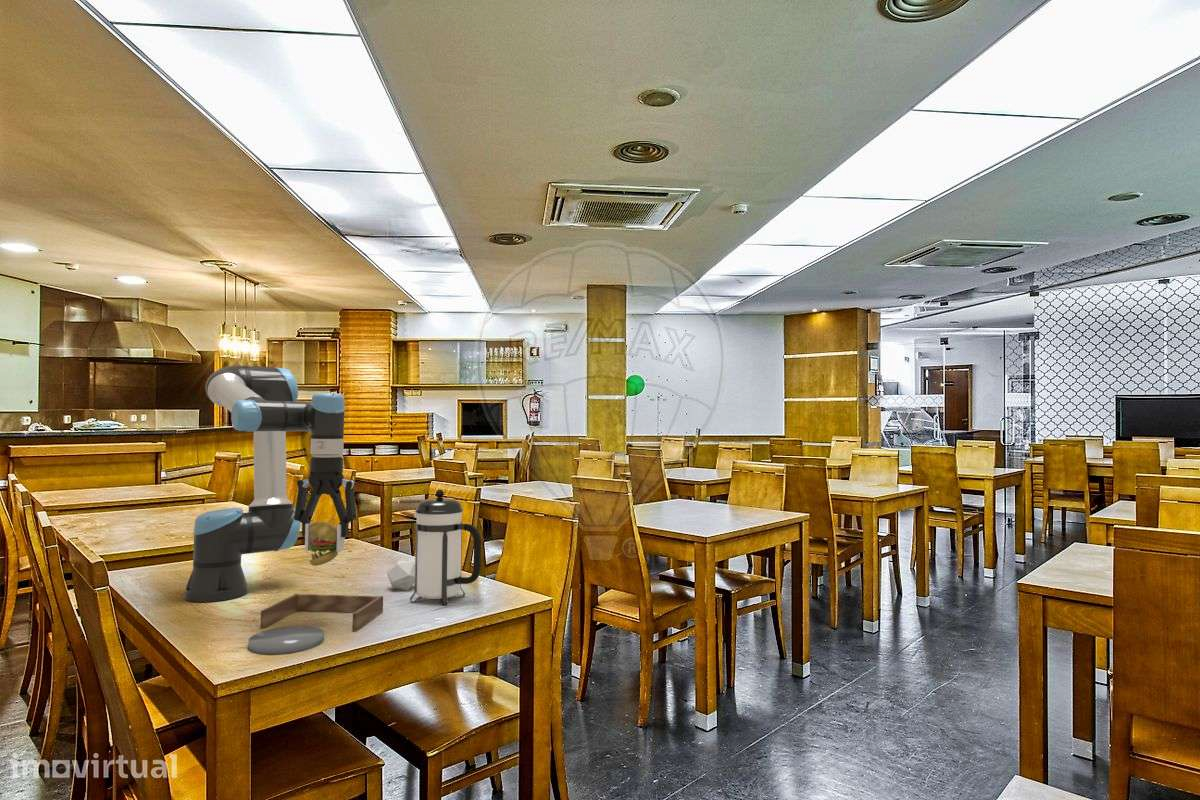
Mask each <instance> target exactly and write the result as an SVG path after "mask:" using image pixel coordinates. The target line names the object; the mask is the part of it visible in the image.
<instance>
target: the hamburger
mask: <svg viewBox="0 0 1200 800" xmlns="http://www.w3.org/2000/svg"><path fill="white" fill-rule="evenodd" d="M334 518H335V516H332V518H331V522H328V521H324V520H322V521H321V520H320V521H316V522H314V524H312V525H311V526H310V528H309V531H310V533H312V536H313V541H312V542H310V546H311V548H312V549H311V550H309V551H310V552H311V559H310V560H309V561H308V562H309V564H310V565H312V566H315V567H317V566H321V565H324V564H327V563H330V562H331V561H333V560H334V559H335V558H337V557H338V554H339V552H337V525H335V524H333V523H332V522H333V520H334ZM316 538H318V539H316ZM312 552H313V553H312ZM317 552H318V554H317Z"/></svg>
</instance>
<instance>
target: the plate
mask: <svg viewBox="0 0 1200 800" xmlns="http://www.w3.org/2000/svg"><path fill="white" fill-rule="evenodd" d="M324 641H325V631H324V629H323V628H321V627H318V626H312V625H289V626H288V625H287V626H280V627H275V628H270V629H267V630H263V631H260V632H256V633H254V634H252V635H251V636H250V637H249V638H248V645H247V647H248V650H249V651H250V652H252V653H254V654H260V655H286V654H292V653H298V652H302V651H306V650H309V649H313V648H315V647H318V646H319V645H321V644H322V643H323V642H324Z"/></svg>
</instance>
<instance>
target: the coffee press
mask: <svg viewBox="0 0 1200 800" xmlns="http://www.w3.org/2000/svg"><path fill="white" fill-rule="evenodd" d="M434 494H435V498H428V499H423V500H422V501H420V502H418V504H417V507H416V508H415V510H414V511H415V512H414V515H413V517H414V518H416V522H415V546H414V547H415V548H414V549H415V550H414V551H415V552H414V553H415V554H414V557H415V558H414V564H415V583H414V591H413V593H412V594H411V596H410V597H409V601H410V602H411V603H412V604H414V603H416V602H418V601H419V599H430V600H439V601H440V603H441V604H440V605H441V606H443V607H444V606H448V604H449V603H448V602H449V601H448V600H449V599H448V598H451V597H455V596H456V595H457V596H459V597H460V598H464V597H465V596H466V593H465V591H464V590H463V588H462V585H469V584H472V583H474V582H476V580H478V578H479V576H480V574H481V569H482V560H481V559H482V539H481V534H480V532H479V530H478V528H477V527H476V526H474V525H472V524H470V523H463V520H462V519H463V518H462V517H463V515H462V514H463V512H464V507H462V504H461V502H460V501H458V500H456V499H454V498H449V497H443V496H444V495H445V493H444V490H442V489H437V490H436V491H435V493H434ZM463 531H467V532H469V533H470V534H471V536H472V538H473V567H472V569H473V570H472V573H471V575H470V576H469V577H465V576H462V555H463V554H462V551H463V548H462V546H463V545H462V543H463V539H462V537H463ZM460 591H462V595H459V593H460ZM415 595H417V597H416V598H415V599H414V600H413V598H414V597H415ZM412 600H413V601H412Z"/></svg>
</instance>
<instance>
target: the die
mask: <svg viewBox="0 0 1200 800" xmlns="http://www.w3.org/2000/svg"><path fill="white" fill-rule="evenodd" d="M386 574H387V577H388V579H389V583H390V584H391V588H392V590H397V591H398V590H399V591H408V590H409V589H410V588H411V587H413V586H414V585H415V561H410V560H409V561H408V560H399V561H397V562H396V564H395V565H393V566H392V567H391V568H389V570H387V572H386Z"/></svg>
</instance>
